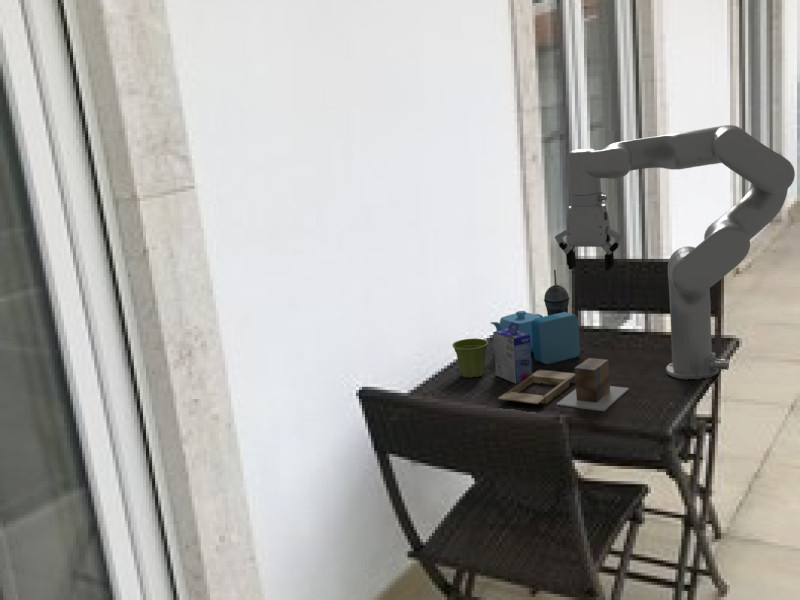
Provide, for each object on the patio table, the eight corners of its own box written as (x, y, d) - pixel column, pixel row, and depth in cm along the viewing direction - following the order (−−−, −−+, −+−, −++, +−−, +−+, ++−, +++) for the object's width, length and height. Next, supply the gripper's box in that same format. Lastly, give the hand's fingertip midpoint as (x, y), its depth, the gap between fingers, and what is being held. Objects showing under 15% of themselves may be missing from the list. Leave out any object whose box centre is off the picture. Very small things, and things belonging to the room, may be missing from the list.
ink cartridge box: (534, 379, 248) (530, 325, 245) (516, 384, 246) (512, 330, 242) (512, 370, 257) (508, 318, 253) (495, 375, 255) (490, 323, 251)
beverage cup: (546, 341, 278) (541, 274, 273) (546, 334, 285) (542, 268, 280) (572, 340, 277) (567, 272, 272) (571, 333, 284) (567, 266, 279)
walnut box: (610, 391, 233) (608, 359, 231) (596, 402, 227) (594, 369, 225) (590, 389, 236) (588, 357, 234) (576, 400, 230) (574, 367, 228)
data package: (571, 352, 267) (569, 310, 264) (580, 356, 262) (578, 314, 260) (533, 361, 262) (530, 319, 260) (542, 365, 258) (539, 322, 255)
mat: (629, 389, 234) (628, 388, 234) (604, 411, 222) (604, 409, 222) (583, 384, 241) (583, 382, 241) (556, 405, 229) (556, 403, 229)
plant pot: (467, 367, 264) (464, 336, 262) (497, 370, 258) (494, 339, 256) (448, 378, 257) (445, 347, 255) (479, 382, 251) (476, 350, 249)
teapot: (481, 354, 273) (477, 315, 271) (532, 340, 282) (529, 302, 279) (506, 364, 263) (503, 323, 260) (559, 348, 271) (556, 309, 268)
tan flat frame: (577, 380, 244) (576, 373, 244) (538, 410, 227) (537, 403, 227) (539, 376, 250) (538, 369, 250) (498, 404, 233) (498, 397, 233)
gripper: (625, 196, 234) (629, 265, 238) (559, 198, 243) (564, 264, 247) (614, 202, 228) (618, 273, 232) (546, 203, 237) (552, 271, 241)
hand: (590, 268), depth 240 cm, fingers open, 9 cm apart
